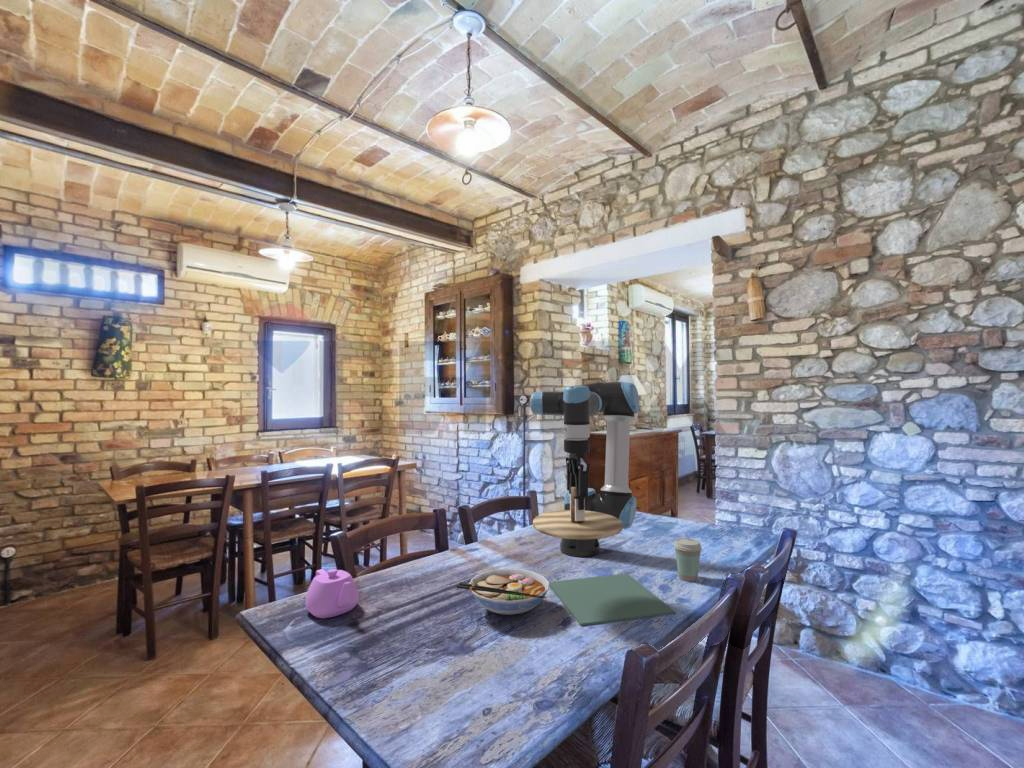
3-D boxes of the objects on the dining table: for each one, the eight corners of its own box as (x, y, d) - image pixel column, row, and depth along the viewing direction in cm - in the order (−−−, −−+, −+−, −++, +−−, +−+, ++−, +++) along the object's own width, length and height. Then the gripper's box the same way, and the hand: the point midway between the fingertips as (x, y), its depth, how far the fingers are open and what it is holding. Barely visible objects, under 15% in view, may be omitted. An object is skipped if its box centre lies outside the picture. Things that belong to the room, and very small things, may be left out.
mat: (547, 583, 155) (547, 582, 155) (627, 575, 162) (627, 573, 162) (580, 625, 128) (580, 623, 128) (675, 613, 135) (675, 611, 135)
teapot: (326, 631, 126) (326, 588, 126) (295, 606, 140) (294, 567, 140) (373, 613, 135) (373, 573, 135) (339, 592, 149) (339, 556, 149)
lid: (523, 516, 153) (522, 481, 153) (600, 510, 159) (600, 476, 159) (548, 543, 127) (548, 501, 127) (639, 535, 133) (638, 495, 133)
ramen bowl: (561, 598, 144) (561, 571, 144) (541, 636, 123) (540, 603, 123) (483, 587, 153) (483, 561, 153) (451, 621, 131) (451, 590, 131)
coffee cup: (704, 584, 154) (703, 546, 155) (675, 582, 156) (675, 544, 156) (699, 574, 163) (699, 538, 163) (672, 572, 165) (672, 536, 165)
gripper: (555, 435, 150) (556, 511, 150) (574, 442, 134) (574, 527, 134) (578, 435, 152) (579, 510, 152) (599, 441, 136) (600, 525, 136)
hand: (577, 518), depth 143 cm, fingers closed on lid, 4 cm apart
